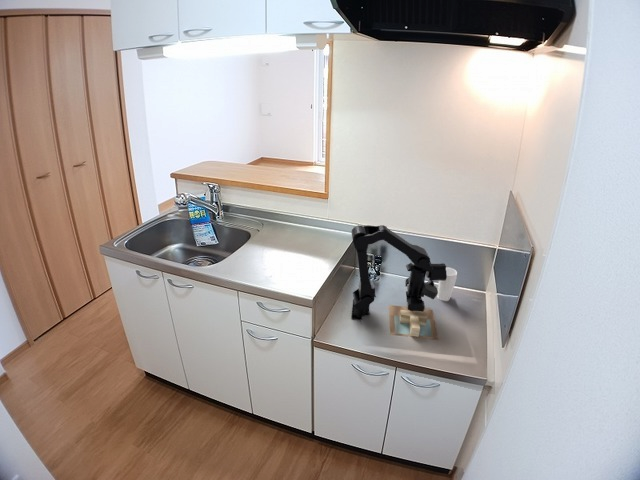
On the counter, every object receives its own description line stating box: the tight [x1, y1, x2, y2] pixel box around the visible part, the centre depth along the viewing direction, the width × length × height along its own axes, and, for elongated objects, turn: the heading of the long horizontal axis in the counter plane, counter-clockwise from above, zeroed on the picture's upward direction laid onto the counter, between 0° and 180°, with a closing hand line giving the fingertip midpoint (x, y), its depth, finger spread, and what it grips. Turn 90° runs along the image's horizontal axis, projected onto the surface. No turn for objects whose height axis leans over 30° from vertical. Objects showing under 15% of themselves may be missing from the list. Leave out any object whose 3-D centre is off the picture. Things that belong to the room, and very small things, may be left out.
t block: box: [400, 310, 427, 338], centre depth 139 cm, size 10×10×4 cm
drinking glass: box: [436, 266, 458, 302], centre depth 155 cm, size 7×7×15 cm
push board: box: [388, 304, 440, 341], centre depth 143 cm, size 18×18×2 cm
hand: (411, 310), depth 147 cm, fingers closed
